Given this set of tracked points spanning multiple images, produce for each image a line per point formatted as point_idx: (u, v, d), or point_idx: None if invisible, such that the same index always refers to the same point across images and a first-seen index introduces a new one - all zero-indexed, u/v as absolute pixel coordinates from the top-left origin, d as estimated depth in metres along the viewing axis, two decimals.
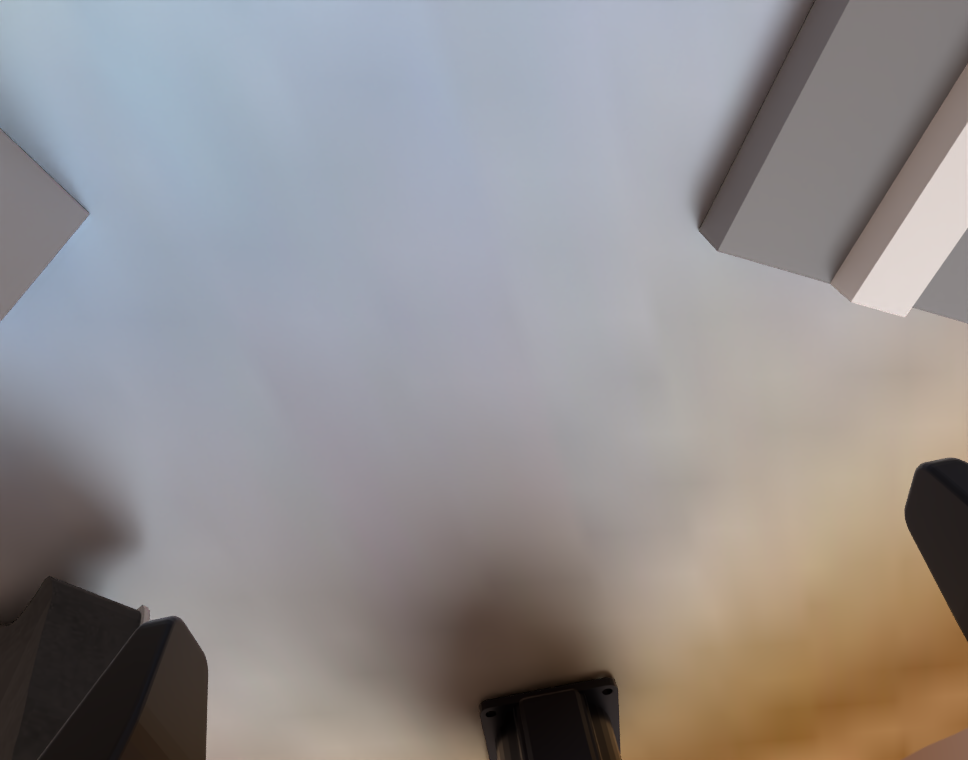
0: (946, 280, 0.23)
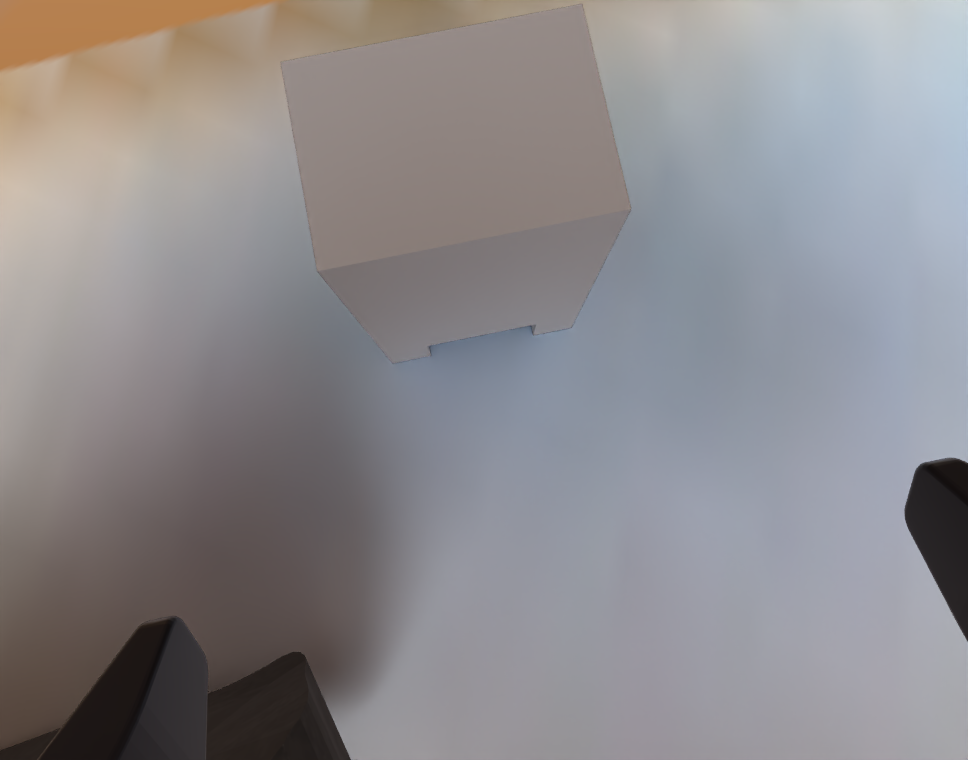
0: None
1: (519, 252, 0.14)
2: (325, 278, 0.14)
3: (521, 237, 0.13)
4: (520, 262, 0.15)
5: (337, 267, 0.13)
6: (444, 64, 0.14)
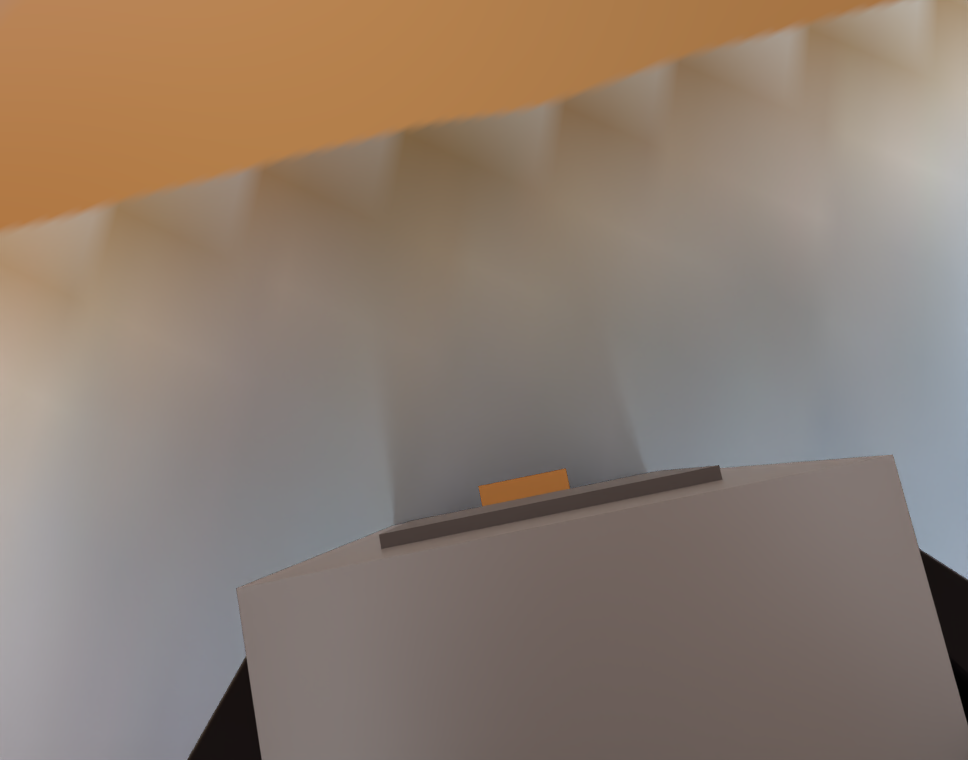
0: None
1: None
2: None
3: None
4: None
5: None
6: (596, 597, 0.06)
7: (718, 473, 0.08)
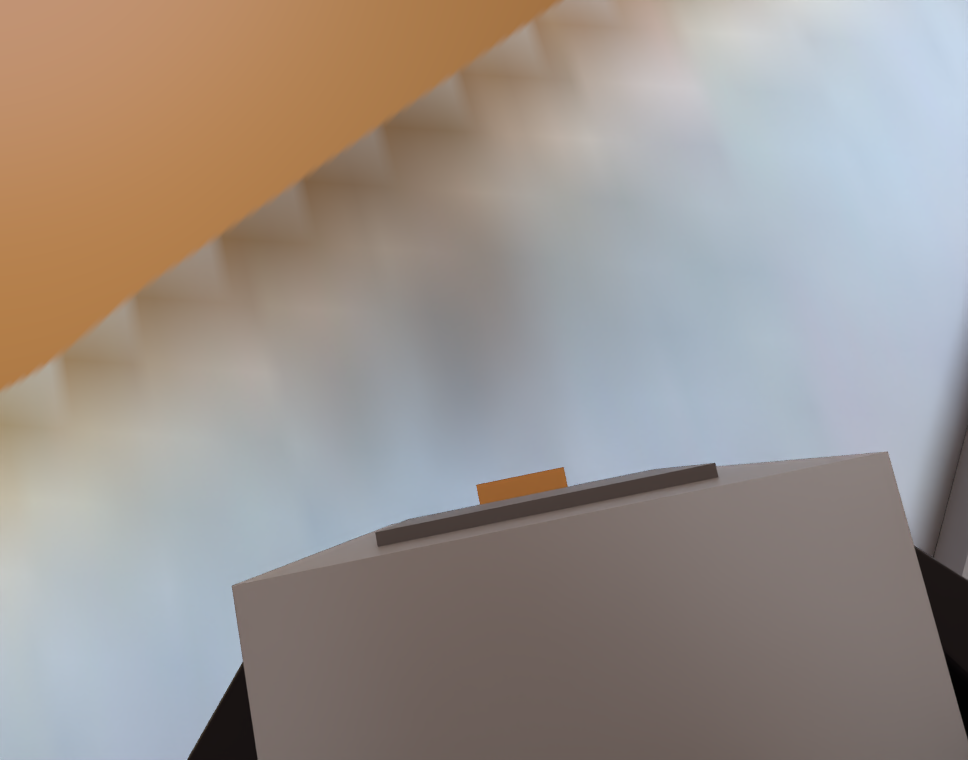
0: None
1: None
2: None
3: None
4: None
5: None
6: (592, 594, 0.06)
7: (714, 470, 0.08)
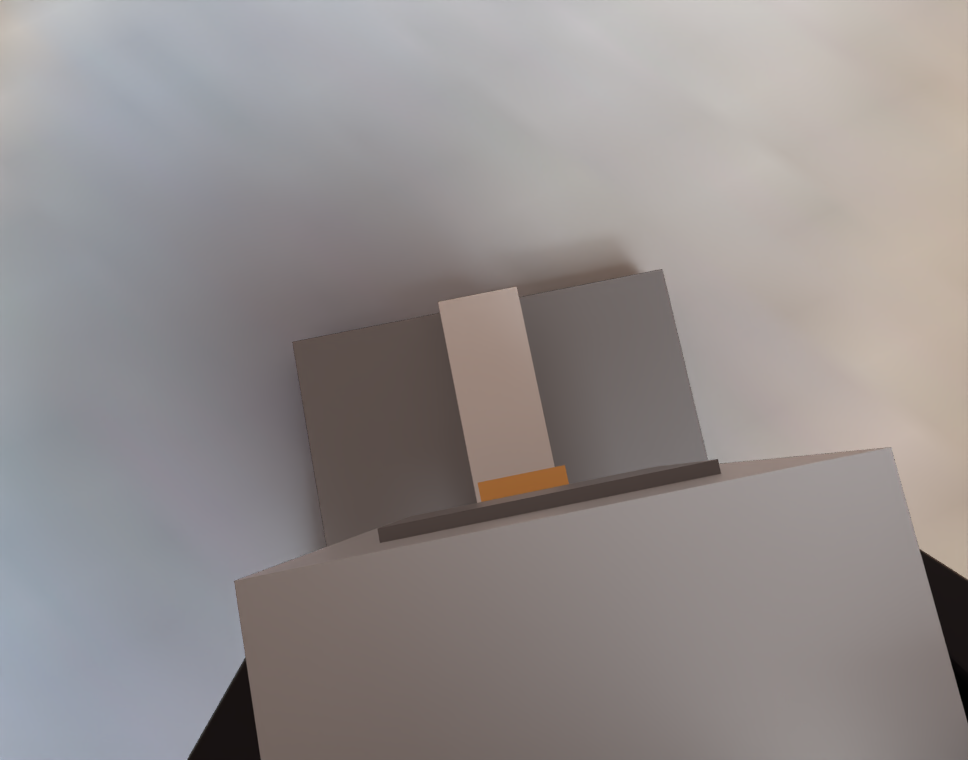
0: None
1: None
2: None
3: None
4: None
5: None
6: (594, 590, 0.06)
7: (716, 467, 0.08)
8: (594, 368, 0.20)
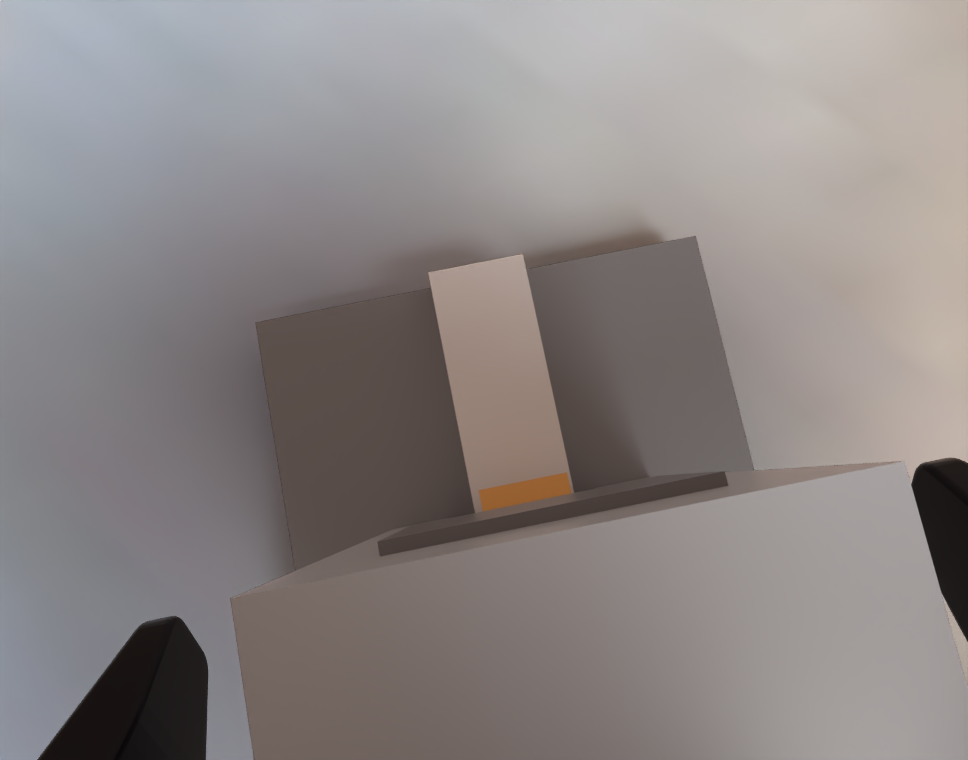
0: None
1: None
2: None
3: None
4: None
5: None
6: (601, 608, 0.06)
7: (724, 479, 0.08)
8: (615, 353, 0.16)
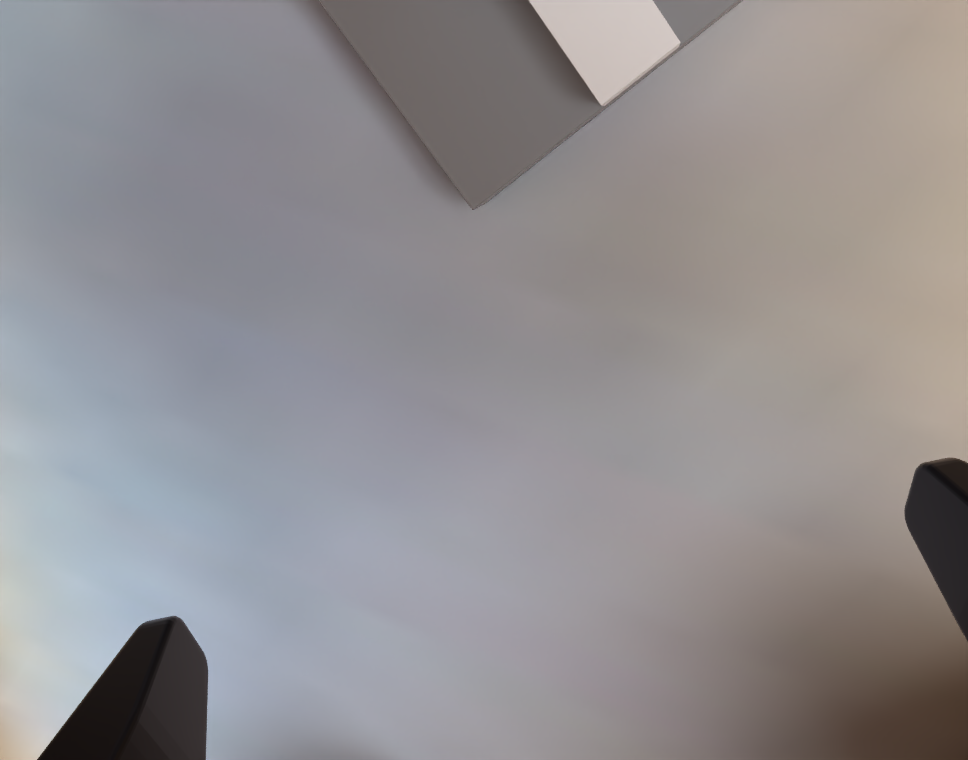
0: None
1: None
2: None
3: None
4: None
5: None
6: None
7: None
8: None
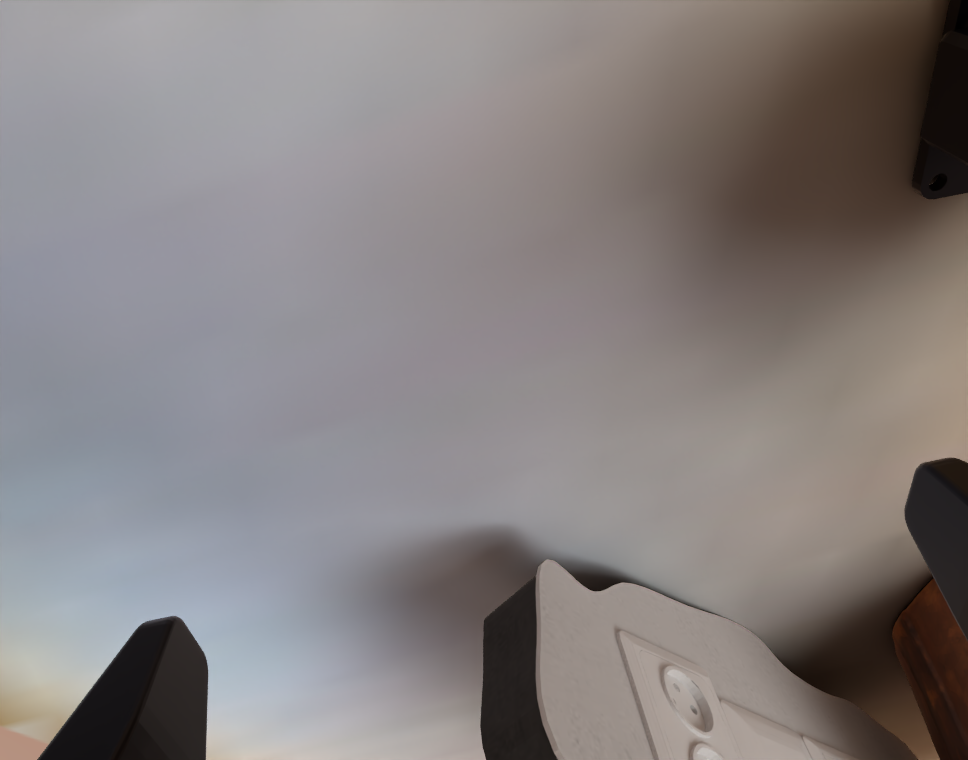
0: None
1: None
2: None
3: None
4: None
5: None
6: None
7: None
8: None
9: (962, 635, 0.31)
